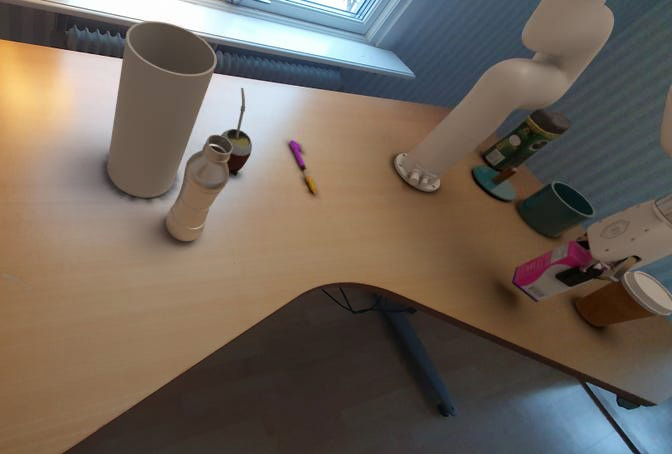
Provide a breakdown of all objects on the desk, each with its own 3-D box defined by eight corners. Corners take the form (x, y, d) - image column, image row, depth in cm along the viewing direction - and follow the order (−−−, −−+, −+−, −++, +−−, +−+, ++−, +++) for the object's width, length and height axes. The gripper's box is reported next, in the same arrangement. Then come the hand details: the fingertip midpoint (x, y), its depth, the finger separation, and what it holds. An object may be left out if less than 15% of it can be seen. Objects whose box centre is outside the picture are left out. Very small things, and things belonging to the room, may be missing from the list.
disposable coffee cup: (560, 292, 84) (622, 267, 75) (587, 294, 87) (651, 270, 78) (589, 333, 79) (659, 312, 70) (617, 334, 82) (689, 313, 72)
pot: (559, 245, 96) (598, 225, 89) (517, 218, 98) (553, 197, 91) (556, 219, 103) (592, 199, 96) (517, 195, 105) (550, 173, 98)
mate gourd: (230, 185, 74) (262, 127, 63) (198, 163, 75) (224, 102, 63) (246, 166, 79) (278, 109, 67) (215, 146, 80) (242, 86, 68)
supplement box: (539, 285, 77) (603, 260, 68) (535, 303, 74) (602, 278, 65) (515, 266, 79) (574, 238, 69) (510, 282, 75) (571, 255, 66)
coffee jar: (499, 155, 116) (561, 107, 102) (514, 174, 112) (581, 126, 98) (477, 151, 114) (537, 101, 99) (491, 170, 109) (557, 121, 95)
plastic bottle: (173, 250, 61) (212, 166, 46) (156, 218, 64) (187, 129, 49) (206, 240, 64) (252, 159, 49) (188, 210, 67) (227, 124, 52)
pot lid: (512, 209, 100) (536, 194, 95) (470, 183, 101) (491, 166, 96) (512, 185, 107) (534, 170, 102) (472, 161, 109) (493, 145, 104)
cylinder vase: (93, 161, 68) (107, 25, 48) (148, 142, 74) (179, 17, 55) (132, 209, 64) (164, 83, 44) (186, 185, 71) (234, 67, 51)
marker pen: (288, 142, 88) (311, 194, 79) (291, 138, 87) (315, 191, 78) (296, 145, 89) (320, 197, 81) (299, 141, 88) (324, 193, 80)
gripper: (650, 173, 62) (541, 230, 77) (676, 234, 52) (544, 288, 66) (693, 199, 61) (574, 252, 76) (728, 267, 51) (583, 314, 65)
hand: (561, 268), depth 71 cm, fingers closed on supplement box, 6 cm apart
